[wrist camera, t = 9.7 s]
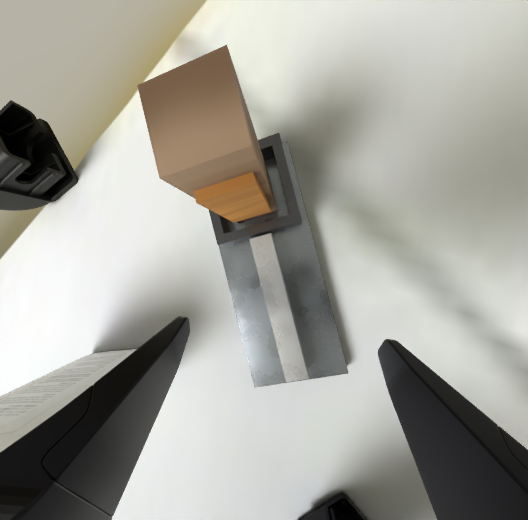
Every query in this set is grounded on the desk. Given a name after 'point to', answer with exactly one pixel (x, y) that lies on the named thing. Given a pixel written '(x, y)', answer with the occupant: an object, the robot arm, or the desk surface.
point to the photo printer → (51, 393)
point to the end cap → (30, 161)
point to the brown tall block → (208, 137)
